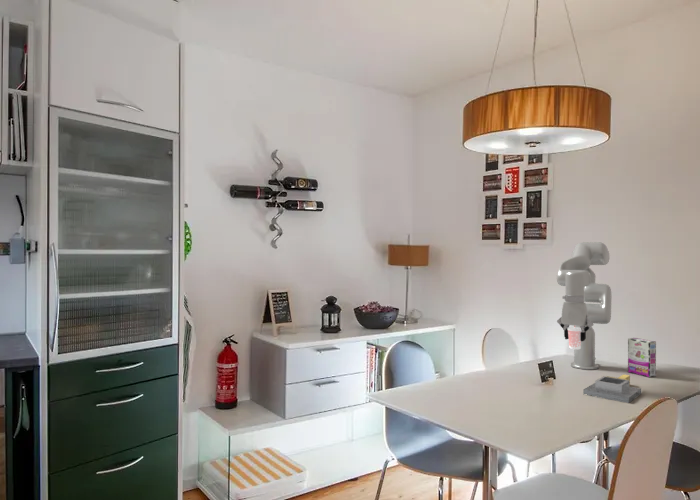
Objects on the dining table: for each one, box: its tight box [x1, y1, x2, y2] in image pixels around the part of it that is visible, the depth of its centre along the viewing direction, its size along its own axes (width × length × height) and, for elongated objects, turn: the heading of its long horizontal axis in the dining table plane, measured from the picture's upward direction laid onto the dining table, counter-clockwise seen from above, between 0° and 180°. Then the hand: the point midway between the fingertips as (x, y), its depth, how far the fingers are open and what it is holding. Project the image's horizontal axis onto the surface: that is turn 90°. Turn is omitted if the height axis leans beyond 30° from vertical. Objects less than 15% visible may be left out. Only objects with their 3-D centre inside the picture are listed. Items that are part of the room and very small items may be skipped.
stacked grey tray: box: [583, 375, 642, 404], centre depth 213 cm, size 17×17×6 cm
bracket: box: [606, 374, 631, 386], centre depth 221 cm, size 14×8×6 cm, turn 136°
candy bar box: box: [627, 337, 657, 378], centre depth 243 cm, size 11×5×16 cm, turn 25°
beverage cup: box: [567, 325, 582, 350], centre depth 229 cm, size 6×6×14 cm
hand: (574, 339), depth 229 cm, fingers closed on beverage cup, 6 cm apart
